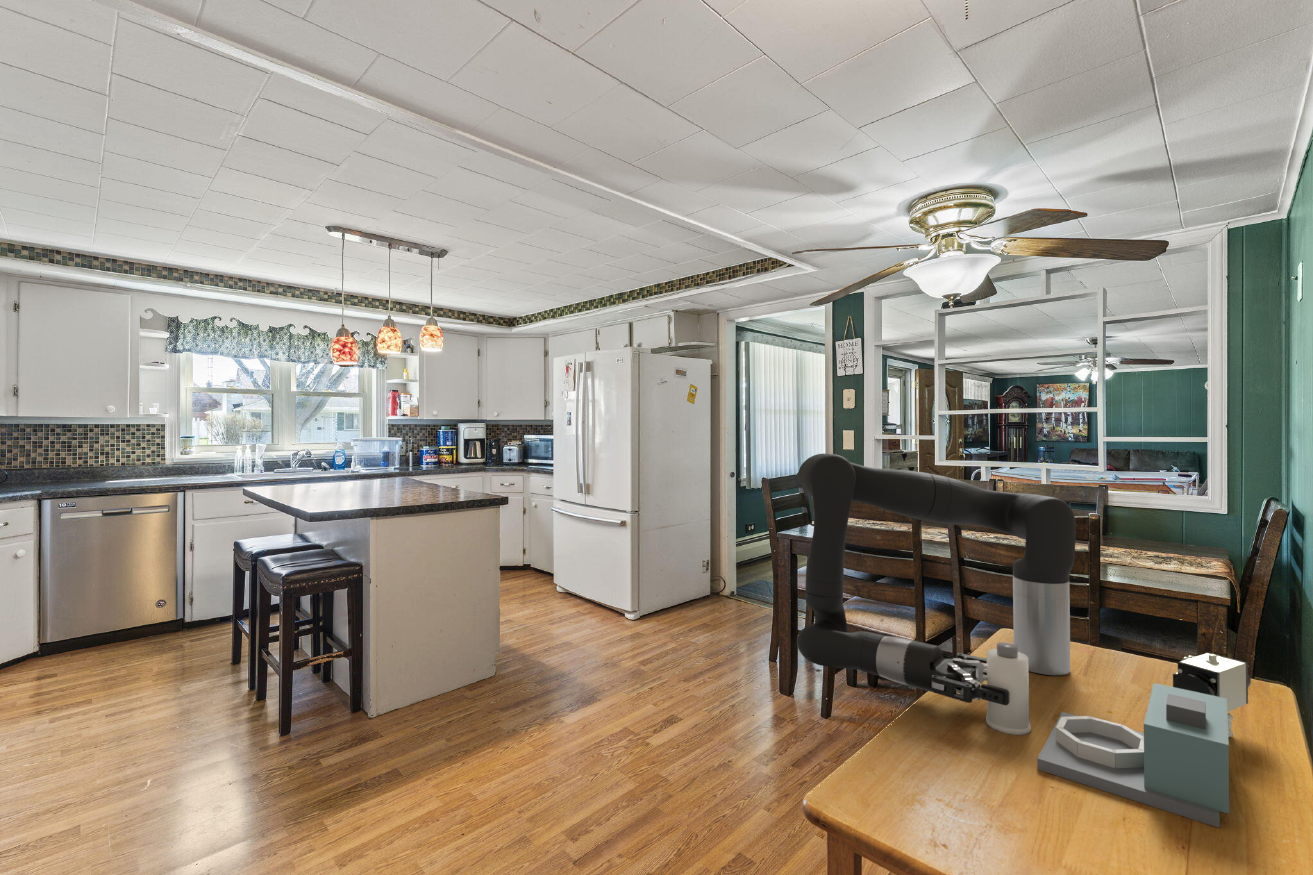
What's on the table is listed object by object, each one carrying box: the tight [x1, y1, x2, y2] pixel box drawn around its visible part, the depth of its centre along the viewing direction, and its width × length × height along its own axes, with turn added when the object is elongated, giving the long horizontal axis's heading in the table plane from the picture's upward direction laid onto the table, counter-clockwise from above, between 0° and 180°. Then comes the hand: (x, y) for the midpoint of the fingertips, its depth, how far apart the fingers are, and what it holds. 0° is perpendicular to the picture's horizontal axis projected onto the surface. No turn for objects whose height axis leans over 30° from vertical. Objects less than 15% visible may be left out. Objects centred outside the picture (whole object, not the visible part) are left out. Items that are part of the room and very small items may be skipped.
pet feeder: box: [1036, 682, 1230, 829], centre depth 81 cm, size 19×19×12 cm
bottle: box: [985, 642, 1032, 736], centre depth 93 cm, size 6×6×12 cm
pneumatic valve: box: [1172, 652, 1252, 739], centre depth 90 cm, size 6×12×12 cm, turn 115°
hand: (1016, 688), depth 92 cm, fingers open, 8 cm apart
